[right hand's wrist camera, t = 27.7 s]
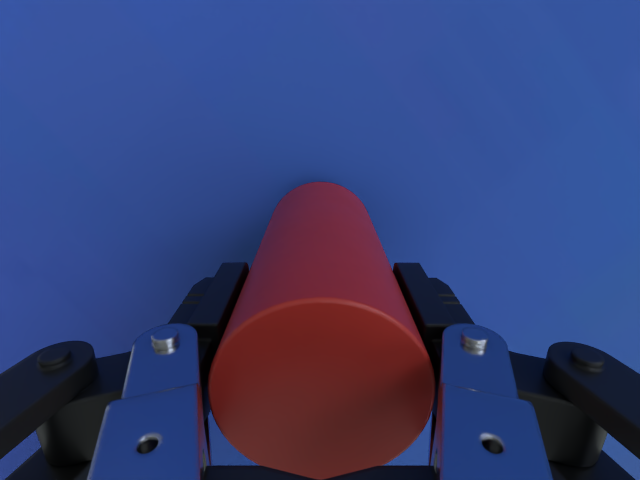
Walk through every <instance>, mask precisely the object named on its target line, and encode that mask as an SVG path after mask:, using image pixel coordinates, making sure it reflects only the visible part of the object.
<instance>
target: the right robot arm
mask: <svg viewBox="0 0 640 480" xmlns="http://www.w3.org/2000/svg"><path fill="white" fill-rule="evenodd" d="M248 273H249V267H248V264H247V263H222V265H221V267H220V268H219V270H218V272H217V273H216V275H215V277H214V278H204V279H203V280H201V281H200V282H198V283H197V284H195V285H194V286H193V287H192V289H191V290H190V292H189V293H188V296H186V298H185V299H184V301H183V304H181V305H180V306H179V308H178V309H177V311H176V312H175V314H174V315H173V317H172V318H171V320H170V321H169V323H168V324H166V325H161V326H158V327H155V328H152V329H150V330H148V331H146V332H145V333H143V334H142V335H140V336H139V337H138V338H137V339H136V341H135V342H134V344H133V347H132V351H130V352H126V353H122V354H117V355H112V356H107V357H102V358H95V354H94V350H93V347H92V346H91V345H90V344H89V343H87V342H83V341H67V342H61V343H57V344H54V345H51V346H48V347H45V348H43V349H41V350H39V351H37V352H35V353H33V354H31V355H30V356H28V357H27V358H25V359H23V360H22V361H20V362H19V363H17V364H16V365H14V366H12V367H11V368H9V369H8V370H6V371H5V372H3V373H1V374H0V459H1V458H3V457H4V456H5V455H6V454H7V453H9V452H10V451H11V450H12V449H13V448H15V447H16V446H17V445H18V444H19V443H21V442H22V441H23V440H24V439H25V438H26V437H28V436H29V435H30V434H31V433H32V432H34V431H35V430H36V433H37V436H38V439H39V441H40V444H41V448H40V449H38V450H37V451H36V452H35V453H34V454H33V455H32V456H31V457H30V458H28V459H27V460H26V461H25V462H24V463H23V464H22V465H21V466H19V467H18V468H17V469H16V470H15V471H14V472H13V473H12V474H10V475H9V476H8V477H7V478H6V479H5V480H635V479H634V478H633V477H632V476H631V475H630V474H628V473H627V472H626V471H625V470H624V469H623V468H622V467H621V466H619V465H618V464H617V463H616V462H615V461H614V460H613V459H612V458H610V457H609V456H608V455H607V454H606V453H605V452H604V451H603V450H602V447H603V444H604V442H605V439H606V436H607V433H609V434H610V435H611V436H612V437H614V438H615V439H616V440H617V441H618V442H620V443H621V444H622V445H623V446H624V447H626V448H627V449H628V450H629V451H630V452H631V453H633V454H634V455H635V456H636V457H637V458H639V459H640V374H639V373H637V372H635V371H634V370H632V369H631V368H629V367H628V366H626V365H624V364H623V363H621V362H620V361H618V360H617V359H615V358H613V357H612V356H610V355H609V354H607V353H605V352H603V351H601V350H599V349H596V348H594V347H591V346H588V345H584V344H580V343H575V342H558V343H555V344H553V345H551V346H550V347H549V349H548V352H547V356H546V359H544V358H539V357H534V356H529V355H523V354H519V353H514V352H511V351H508V347H507V344H506V342H505V341H504V339H503V338H502V337H501V336H500V335H498V334H497V333H495V332H494V331H492V330H490V329H488V328H485V327H482V326H479V325H475V324H474V322H473V321H472V319H471V318H470V316H469V315H468V313H467V312H466V311H465V309H464V308H463V306H462V305H461V304H460V302H459V300H458V299H457V297H455V295H454V293H453V292H452V290H451V289H450V287H449V286H448V285H447V284H445V283H443V282H442V281H440V280H439V279H437V278H428V277H427V275H426V273H425V272H424V270H423V268H422V267H421V265H420V264H419V263H395V264H394V267H393V273H394V276H395V278H396V280H397V283H398V285H399V287H400V290H401V292H402V294H403V297H404V299H405V301H406V304H407V306H408V308H409V311H410V313H411V315H412V318H413V320H414V322H415V325H416V327H417V329H418V332H419V334H420V336H421V339H422V341H423V343H424V346H425V348H426V350H427V353H428V355H429V357H430V360H431V363H432V367H433V370H434V376H435V398H434V403H433V408H432V417H431V424H430V439H429V453H428V466H374V467H370V468H366V469H363V470H359V471H355V472H351V473H347V474H343V475H339V476H335V477H331V478H327V479H313V478H309V477H305V476H301V475H297V474H293V473H289V472H285V471H281V470H277V469H274V468H270V467H266V466H212V454H211V439H210V425H209V417H208V415H209V412H210V410H211V407H210V403H209V398H208V376H209V372H210V368H211V364H212V361H213V359H214V356H215V354H216V351H217V349H218V347H219V344H220V342H221V339H222V337H223V334H224V332H225V329H226V327H227V325H228V322H229V320H230V317H231V315H232V312H233V310H234V307H235V305H236V303H237V300H238V298H239V295H240V293H241V290H242V288H243V285H244V283H245V281H246V278H247V276H248Z"/></svg>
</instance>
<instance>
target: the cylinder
mask: <svg viewBox="0 0 640 480" xmlns="http://www.w3.org/2000/svg"><path fill="white" fill-rule="evenodd" d="M208 398H209V403H210V407H211V411H212V414H213V417H214V419H215V421H216V424H217V425H218V427H219V429H220V430H221V432H222V434H223V435H224V436H225V437H226V439H227V440H228V441H229V442H230V444H232V445H233V446H234V447H235V448H236V449H237V450H238V451H239V452H240V453H242V454H243V455H244V456H246V457H247V458H248V459H250V460H251V461H253V462H255V463H257V464H258V465H260V466H266V467H270V468H274V469H277V470H281V471H285V472H289V473H293V474H297V475H301V476H305V477H309V478H313V479H327V478H331V477H335V476H339V475H343V474H347V473H351V472H355V471H359V470H363V469H366V468H370V467H374V466H382V465H384V464H386V463H388V462H390V461H391V460H393V459H394V458H396V457H397V456H399V455H400V454H401V453H402V452H404V451H405V450H406V449H407V448H408V447H409V446H410V445H411V444H412V443H413V442H414V441H415V440H416V439H417V437H418V436H419V435H420V433H421V432H422V431H423V429H424V427H425V425H426V423H427V421H428V420H429V417H430V414H431V411H432V408H433V403H434V398H435V376H434V370H433V367H432V363H431V360H430V357H429V355H428V353H427V350H426V348H425V346H424V343H423V341H422V339H421V336H420V334H419V332H418V329H417V327H416V325H415V322H414V320H413V318H412V315H411V313H410V311H409V308H408V306H407V304H406V301H405V299H404V297H403V294H402V292H401V290H400V287H399V285H398V283H397V280H396V278H395V276H394V273H393V271H392V268H391V266H390V264H389V261H388V259H387V257H386V254H385V252H384V250H383V247H382V245H381V243H380V240H379V238H378V236H377V233H376V231H375V229H374V226H373V224H372V222H371V219H370V217H369V215H368V212H367V210H366V208H365V206H364V205H363V203H362V202H361V201H360V199H359V198H358V197H357V196H356V195H355V194H353V193H352V192H351V191H349V190H348V189H346V188H344V187H342V186H340V185H337V184H334V183H329V182H312V183H307V184H304V185H301V186H299V187H297V188H295V189H293V190H292V191H290V192H289V193H287V194H286V195H285V196H284V197H283V198H282V199H281V201H280V202H279V203H278V205H277V206H276V208H275V210H274V212H273V215H272V217H271V220H270V222H269V224H268V227H267V229H266V232H265V234H264V237H263V239H262V242H261V244H260V246H259V249H258V251H257V254H256V256H255V259H254V261H253V264H252V266H251V268H250V271H249V273H248V276H247V278H246V281H245V283H244V285H243V288H242V290H241V293H240V295H239V298H238V300H237V303H236V305H235V307H234V310H233V312H232V315H231V317H230V320H229V322H228V325H227V327H226V329H225V332H224V334H223V337H222V339H221V342H220V344H219V347H218V349H217V351H216V354H215V356H214V359H213V361H212V364H211V368H210V372H209V376H208Z"/></svg>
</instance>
